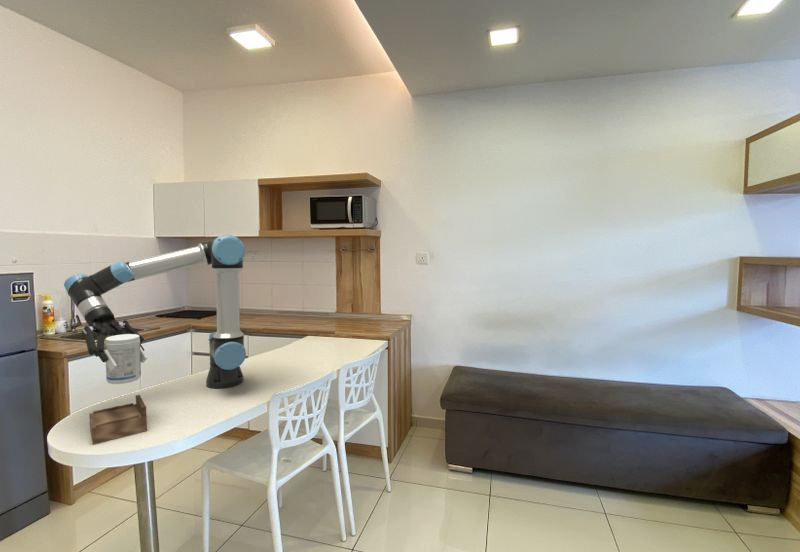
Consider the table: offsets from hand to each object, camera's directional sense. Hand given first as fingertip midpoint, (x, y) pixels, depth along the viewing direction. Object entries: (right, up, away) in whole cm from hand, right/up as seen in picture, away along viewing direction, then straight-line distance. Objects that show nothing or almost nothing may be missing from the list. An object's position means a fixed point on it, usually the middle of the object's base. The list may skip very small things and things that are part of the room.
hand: (130, 364), depth 130 cm
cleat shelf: (-3, -21, -1) cm, 21 cm away
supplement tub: (-3, -6, +1) cm, 7 cm away
